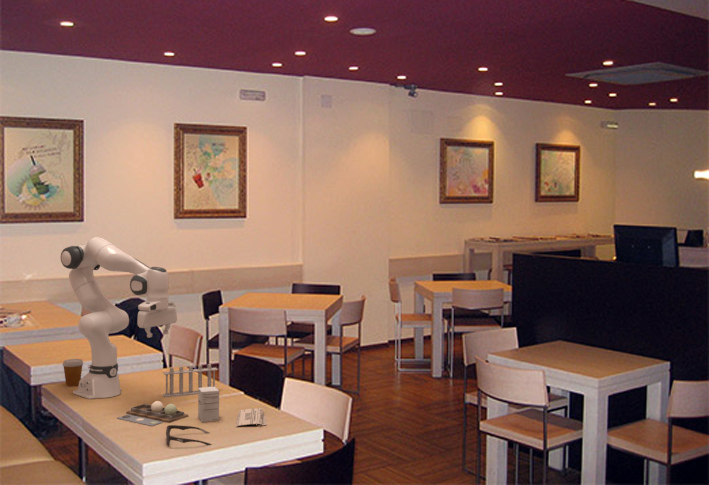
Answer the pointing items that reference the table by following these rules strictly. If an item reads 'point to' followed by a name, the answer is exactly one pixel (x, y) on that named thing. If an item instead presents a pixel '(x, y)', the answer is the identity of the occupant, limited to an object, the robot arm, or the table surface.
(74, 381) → the disposable coffee cup
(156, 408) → the cream ball
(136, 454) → the table surface
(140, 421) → the pattern card
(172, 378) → the test tube rack
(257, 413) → the newspaper
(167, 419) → the socket board
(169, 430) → the sunglasses
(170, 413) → the sage ball
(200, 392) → the supplement box
